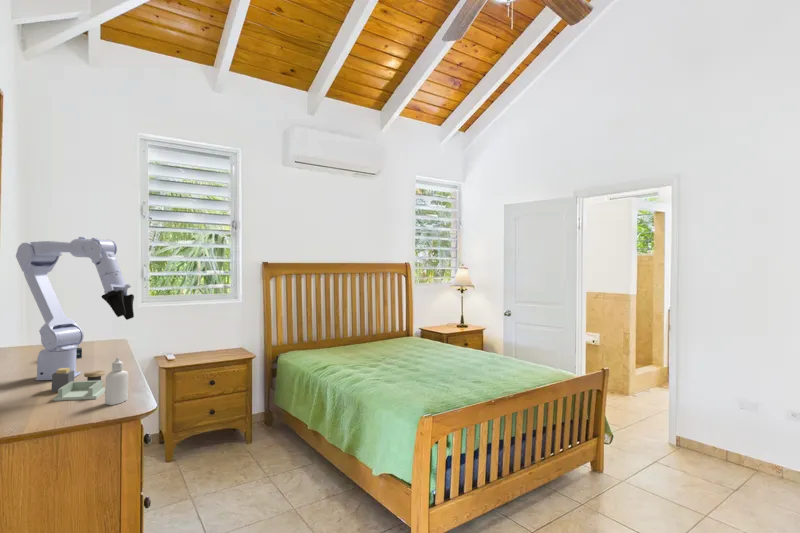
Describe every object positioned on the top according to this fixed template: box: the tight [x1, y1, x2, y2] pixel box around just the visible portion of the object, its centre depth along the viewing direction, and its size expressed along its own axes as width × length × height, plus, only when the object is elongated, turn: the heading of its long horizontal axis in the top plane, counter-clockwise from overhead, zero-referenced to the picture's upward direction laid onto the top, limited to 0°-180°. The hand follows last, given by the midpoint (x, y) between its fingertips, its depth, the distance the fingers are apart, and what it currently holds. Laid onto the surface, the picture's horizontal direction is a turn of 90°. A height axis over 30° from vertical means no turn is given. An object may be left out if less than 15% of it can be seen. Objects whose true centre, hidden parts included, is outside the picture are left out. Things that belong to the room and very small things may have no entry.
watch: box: [76, 347, 83, 359], centre depth 170 cm, size 6×8×11 cm
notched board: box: [52, 379, 105, 402], centre depth 126 cm, size 10×8×3 cm
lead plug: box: [51, 368, 75, 393], centre depth 130 cm, size 4×4×6 cm
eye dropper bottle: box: [104, 356, 129, 406], centre depth 121 cm, size 4×6×12 cm
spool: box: [83, 370, 105, 387], centre depth 135 cm, size 5×5×4 cm
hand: (125, 317), depth 137 cm, fingers open, 7 cm apart
